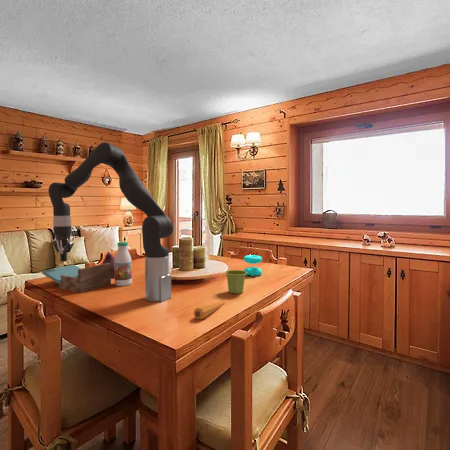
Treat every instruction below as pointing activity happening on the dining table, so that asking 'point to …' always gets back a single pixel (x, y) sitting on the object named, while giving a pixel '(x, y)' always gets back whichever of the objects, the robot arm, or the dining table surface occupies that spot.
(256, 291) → the dining table surface
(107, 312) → the dining table surface
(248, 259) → the donuts
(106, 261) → the vegetable
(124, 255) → the milk bottle
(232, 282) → the plant pot
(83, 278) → the wooden box
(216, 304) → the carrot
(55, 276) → the teal card
